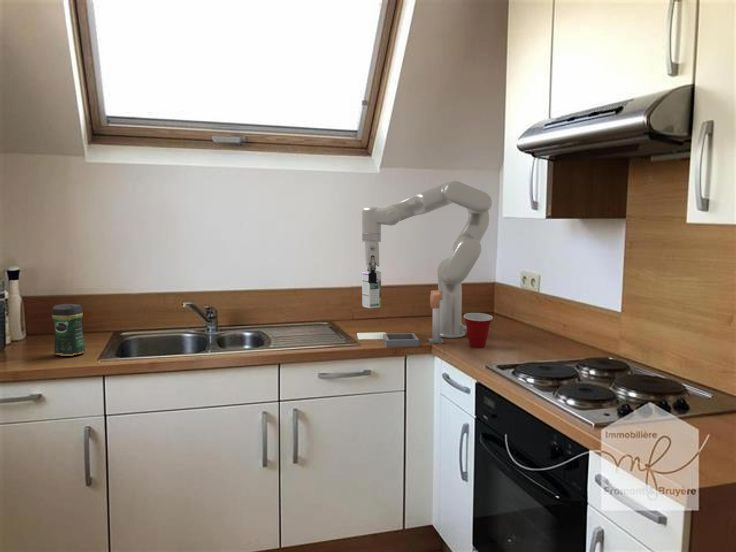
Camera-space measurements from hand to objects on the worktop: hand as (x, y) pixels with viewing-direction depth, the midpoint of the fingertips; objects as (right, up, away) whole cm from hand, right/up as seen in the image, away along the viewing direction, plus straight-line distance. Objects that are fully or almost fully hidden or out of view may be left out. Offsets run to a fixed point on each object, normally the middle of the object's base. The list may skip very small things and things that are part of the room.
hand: (371, 281), depth 237 cm
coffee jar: (-109, -26, -25) cm, 115 cm away
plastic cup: (+40, -24, -17) cm, 50 cm away
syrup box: (0, -10, +1) cm, 11 cm away
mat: (0, -22, +2) cm, 23 cm away
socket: (+16, -24, -9) cm, 30 cm away
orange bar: (+24, -8, -21) cm, 32 cm away
